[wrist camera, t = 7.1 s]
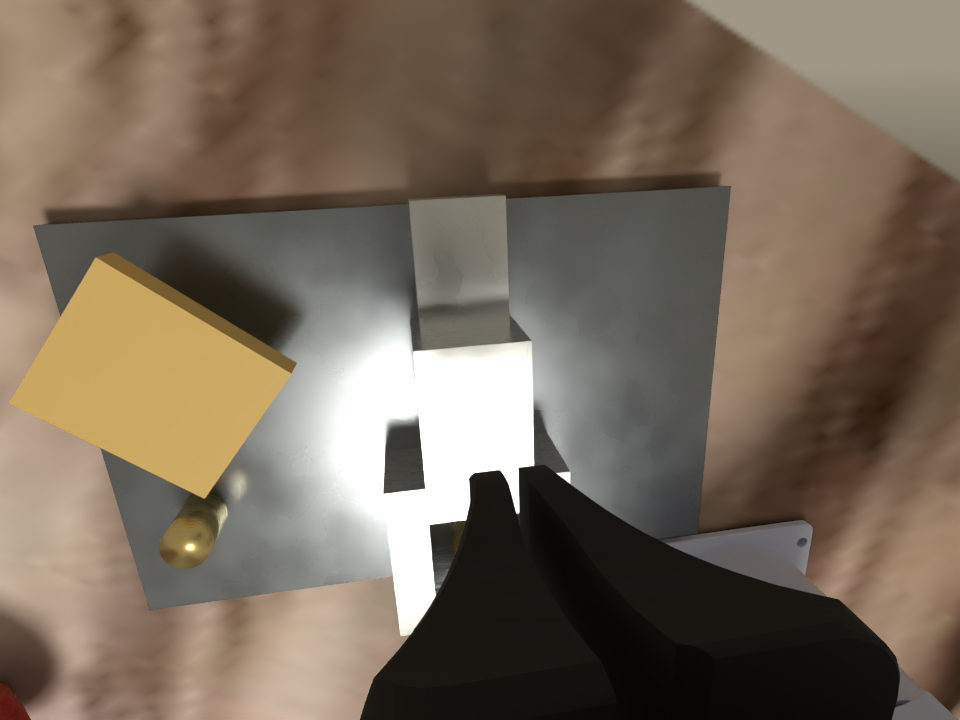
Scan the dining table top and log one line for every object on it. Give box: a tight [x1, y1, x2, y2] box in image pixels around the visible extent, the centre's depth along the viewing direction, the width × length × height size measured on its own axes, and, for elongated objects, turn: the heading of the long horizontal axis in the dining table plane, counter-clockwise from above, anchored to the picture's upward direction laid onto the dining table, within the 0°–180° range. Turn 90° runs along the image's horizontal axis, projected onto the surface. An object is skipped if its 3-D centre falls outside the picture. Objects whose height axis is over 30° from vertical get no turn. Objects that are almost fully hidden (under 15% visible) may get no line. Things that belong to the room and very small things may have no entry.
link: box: [383, 194, 570, 636], centre depth 19 cm, size 15×6×4 cm, turn 3°
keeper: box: [10, 253, 297, 499], centre depth 17 cm, size 6×5×3 cm
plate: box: [33, 186, 731, 610], centre depth 21 cm, size 15×23×1 cm, turn 93°
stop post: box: [159, 494, 228, 569], centre depth 20 cm, size 2×2×2 cm
